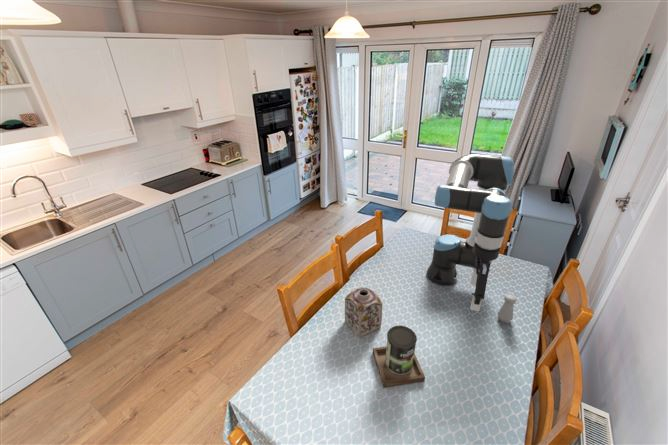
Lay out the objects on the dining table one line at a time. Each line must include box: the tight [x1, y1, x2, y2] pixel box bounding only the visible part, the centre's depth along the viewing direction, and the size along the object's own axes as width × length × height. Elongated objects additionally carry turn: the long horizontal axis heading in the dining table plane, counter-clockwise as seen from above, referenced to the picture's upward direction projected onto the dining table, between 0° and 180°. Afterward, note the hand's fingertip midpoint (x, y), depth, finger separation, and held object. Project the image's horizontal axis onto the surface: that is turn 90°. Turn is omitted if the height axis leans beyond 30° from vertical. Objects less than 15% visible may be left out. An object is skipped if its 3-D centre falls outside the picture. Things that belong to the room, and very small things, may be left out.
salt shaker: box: [497, 293, 517, 324], centre depth 132 cm, size 6×6×13 cm
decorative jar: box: [344, 286, 383, 338], centre depth 130 cm, size 12×12×18 cm
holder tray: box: [372, 345, 426, 389], centre depth 115 cm, size 15×15×2 cm
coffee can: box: [385, 325, 418, 375], centre depth 113 cm, size 10×10×14 cm
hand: (474, 296), depth 107 cm, fingers open, 13 cm apart
